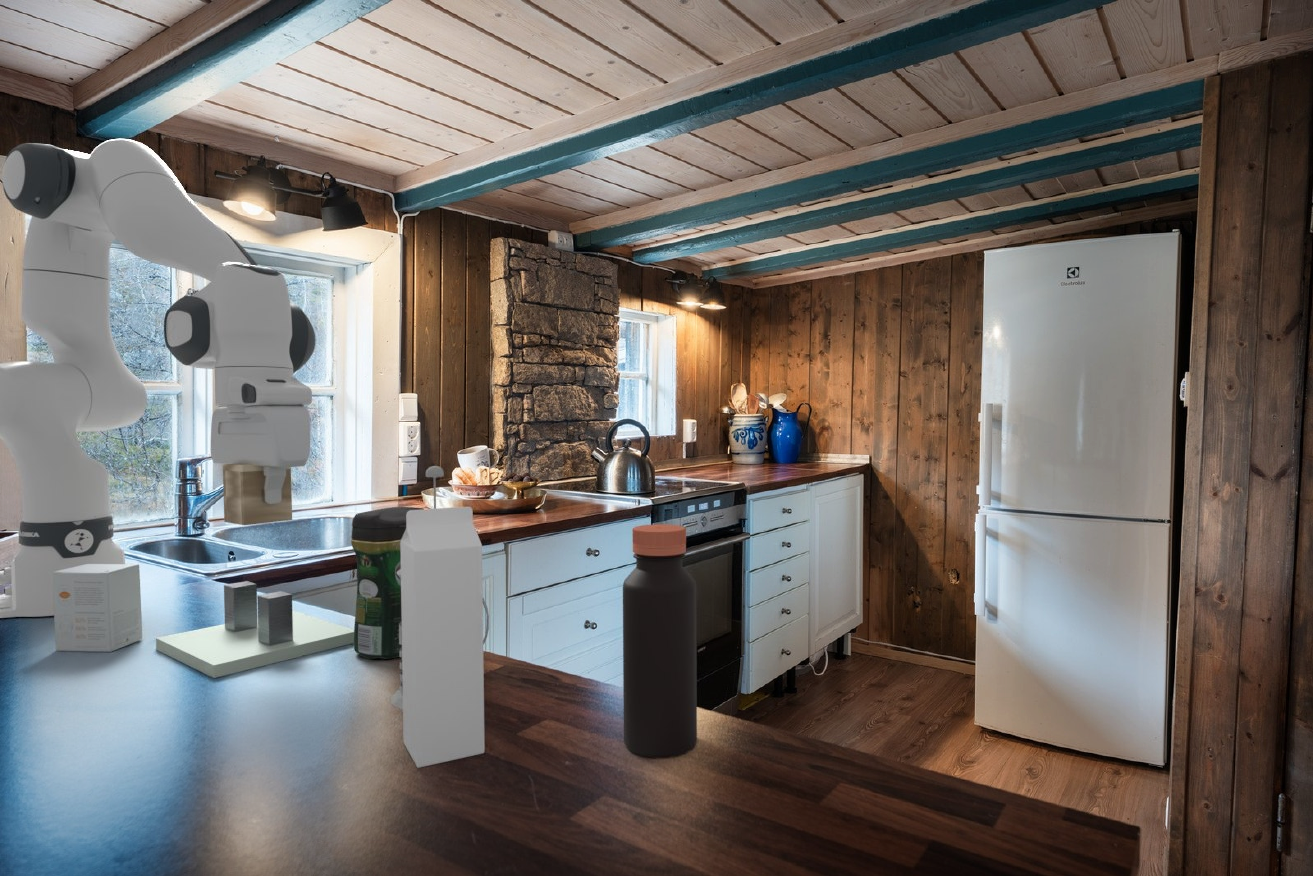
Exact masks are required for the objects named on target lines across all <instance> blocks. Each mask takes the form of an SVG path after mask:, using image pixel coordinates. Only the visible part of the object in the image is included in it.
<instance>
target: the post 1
mask: <svg viewBox="0 0 1313 876" xmlns="http://www.w3.org/2000/svg"><path fill="white" fill-rule="evenodd" d="M257 595H258V591H257V583H254V582H251V581H248V580H246V581H241V582H234V583H228V584H223V598H224V599H223V605H224V608H223V611H224V624H225V629H227V630H230V631H232V632H239V631H244V630H248V629H253V628H258V625H257V617H258V599H257Z"/></svg>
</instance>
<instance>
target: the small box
mask: <svg viewBox="0 0 1313 876" xmlns="http://www.w3.org/2000/svg"><path fill="white" fill-rule="evenodd" d="M52 575H53V599H54V615H53V617H54V619H53V620H54V637H55V638H54V639H55V640H54V642H55V650H56V651H57V652H98V653H102V652H105V653H106V652H108V653H109V652H110V653H111V652H114V651H116V650H119V649H121V648H123V647H126V646H129V645H131V644H135V643H136V642H138V641H142V640H143V623H142V622H143V619H142V618H143V617H142V597H141V578H140V577H141V576H140V575H141V574H140V564H137V563H134V564H132V563H131V564H130V563H129V564H128V563H127V564H126V563H125V564H85V565H80V566H76V567H72V568H68V569H63V570H59V571H55V572H53V573H52Z"/></svg>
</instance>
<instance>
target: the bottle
mask: <svg viewBox="0 0 1313 876" xmlns="http://www.w3.org/2000/svg"><path fill="white" fill-rule="evenodd" d="M686 551H687V528H685V526H683V525H682V526H681V525H677V524H675V525H674V524H661V523H656V524H655V523H654V524H644V525H643V524H642V525H637V526H635V527H633V528H632V552H633V553H634V554H633V558H634V559H635V562H636V565H635V566H636V567H635V568H633V570H632V571H631V572H630V573H629V574H628V575H627V576H626V578H625V579H624V581H623V584H622V643H623V644H622V654H623V655H622V663H623V664H622V666H623V669H622V671H623V673H622V674H623V675H622V677H623V681H622V683H623V684H622V685H623V687H622V688H623V694H622V695H623V696H622V697H623V742H624V744H625V745H624V746H626V749H628V750H629V751H631V752H632V753H634V754H635V755H639V756H641V757H647V758H654V759H657V758H658V759H663V758H665V759H667V758H668V759H669V758H674V757H675V758H676V757H678V756H682V755H684V754H686V753H688V752H690V751H692V749H694V747H695V746H696V744H697V743H698V742H697V741H698V733H697V732H698V718H697V717H698V714H697V710H698V709H697V706H698V705H697V704H698V703H697V702H698V699H697V698H698V697H697V696H698V695H697V691H698V690H697V688H698V686H697V685H698V683H697V681H698V679H697V678H698V677H697V666H698V665H697V663H698V662H697V661H698V660H697V659H698V658H697V657H698V656H697V584H696V580H695V578H693V577H692V575H691V574H690V573H689V572H688V571H687V570H686V569H685V568H684V567H683V559H684V558H686Z"/></svg>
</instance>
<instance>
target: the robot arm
mask: <svg viewBox="0 0 1313 876" xmlns="http://www.w3.org/2000/svg"><path fill="white" fill-rule="evenodd" d="M1 174H2V175H1V179H2V187H3V192H4V195H5V197H6V199H7V200H8V201H9V203H10V204H11V206H12V207H13V208H14V209H16V210H17V211H20V212H21V213H23V214H26V215H29V216H31V219H30V222H29V225H28V229H27V234H26V237H25V242H24V250H23V255H22V256H23V258H22V274H21V275H22V278H21V279H22V281H21V282H22V283H21V313H20V314H21V318H22V320H23V323H24V325H25V326H26V327H27V328H28V329H29V330H30V331H32V332H33V333H35V334H36V335H37V336H40V338H42V339H43V340H44V341H45V342H46V344H47V346H48V347H49V349H50V351H51V355H52V357H53V362H45V361H44V362H43V361H42V362H41V361H29V360H28V361H27V360H26V361H25V360H19V361H8V362H1V363H0V440H1V442H2V443H3V444H4V446H5V447H6V448H7V449H8V451H9V453H10V454H11V456H12V458H13V461H14V463H15V465H16V468H17V471H18V476H19V482H20V491H21V503H22V521H20V522H19V529H18V533H17V534H18V544H20V547H19V549H18V551H17V553H16V555H15V556H14V557H13V559H12V560H11V561H10V566H9V567H3V568H4V569H3V570H0V586H5V587H4V588H3V594H0V619H4V618H16V617H19V618H21V617H25V618H26V617H28V618H29V617H34V618H35V617H50V616H51V617H53V616H54V599H53V575H52V573H53V572H55V571H59V570H63V569H68V568H72V567H76V566H80V565H85V564H126V559H125V558H126V557H125V549H124V548H123V547H121V546H120V545H117V544H116V543H115V542H114V541H113V537H114V528H115V526H114V525H115V523H114V520H113V519H114V518H113V516H112V515H111V514H110V489H109V488H110V484H109V482H110V481H109V473H108V470H107V468H106V467H105V465H104V464H103V463H101V462H100V460H98V459H95V458H93V457H90V456H89V455H88V454H87V453H86V452H85V451H84V449H83V447H82V446H81V444H80V442H79V439H78V436H77V433H83V432H84V433H85V432H89V433H90V432H107V431H111V430H117V429H121V428H124V427H128V426H132V425H134V424H135V423H137V422H138V421H140V419H141V418H142V417H143V415H144V413H145V411H146V408H147V404H148V396H147V391H146V388H145V386H144V384H143V382H142V381H141V380H140V378H139V377H138V376H136V375H135V374H134V373H133V372H132V371H131V370H130V369H129V368H128V367H127V366H126V364H125V363H124V361H123V359H122V357H121V356H120V353H119V351H118V349H117V347H116V345H115V340H114V339H113V337H114V336H113V334H112V327H111V312H110V311H111V310H110V309H111V307H110V306H111V305H110V303H111V302H110V301H111V300H110V299H111V297H110V295H111V294H110V293H111V266H110V265H111V264H110V261H111V260H110V250H111V246H112V244H113V242H114V241H115V240H117V241H118V242H119V243H120V244H121V245H122V246H123V247H124V248H125V249H127V251H129V252H130V253H131V254H132V255H134V256H137V257H139V258H140V259H143V260H145V261H147V262H151V263H153V264H157V265H161V266H164V267H167V268H171V269H172V268H173V269H175V270H179V271H183V272H185V273H189V274H192V275H195V276H197V277H200V278H203V279H205V280H208V281H209V283H208V284H206V285H205V286H204V287H203V288H201V289H200V290H198V291H197V292H195V293H193V294H192V295H184V296H182V297H181V298H179V299H178V300H176V301H175V302H174V303H173V304H172V305H171V306H169V308H168V309H167V310H166V312H165V314H164V321H163V337H164V343H165V347H166V348H167V349H168V351H169V352H170V354H171V355H172V356H173V357H174V358H175V359H176V360H177V361H178V362H179V363H180V364H182V365H184V366H186V367H187V366H189V367H192V368H197V369H204V370H205V369H208V370H213V371H214V397H215V399H214V400H215V404H214V405H216V406H217V407H216V408H215V409H214V410H213V412H212V416H211V424H210V456H211V459H212V462H213V463H214V464H215V465H223V464H233V463H234V464H251V465H254V466H262V467H264V476H266V479H265V486H264V489H261V495H262V502H263V503H267V504H275V503H280V502H281V488H282V486H283V483H284V480H285V477H286V467H291V468H297V467H299V468H300V467H304V466H306V465H307V462H308V460H309V457H310V455H311V453H310V452H311V416H310V412H309V409H308V408H307V407H306V406H309V405H311V404H312V402H313V392H312V391H313V390H312V389H311V388H310V386H308V385H306V384H304V383H302V382H301V381H299V380H298V379H297V378H296V377H294V374H295V373H296V372H297V371H299V370H300V369H301V368H303V367H304V366H305V365H306V364H307V363H308V361H309V360H310V358H311V357H312V355H313V354H314V351H315V349H316V334H315V333H316V332H315V329H314V327H313V325H312V322H311V321H310V319H309V317H308V316H307V314H306V313H305V312H304V311H303V309H301V307H299V306H298V305H296V303H294V302H292V301H291V300H290V299H291V298H290V292H289V288H288V285H287V282H286V278H285V276H284V274H283V273H282V272H280V271H278V270H276V269H275V268H272V267H266V266H261V265H259V264H257V262H256V261H255V260H254V258H253V257H252V256H251V255H250V253H248V251H247V250H246V249H245V248H244V246H243V245H241V244H240V243H239V242H238V241H237V240H236V239H235V238H234V237H233V236H232V235H230V233H228V232H227V231H225V230H224V229H223V228H221V227H220V226H219V225H218V224H217V223H216V222H214V221H213V220H212V219H211V218H210V217H208V216H207V215H206V214H205V212H204V211H202V210H201V209H200V207H198V206H197V204H195V202H194V201H193V200H192V199H191V198H190V196H189V195H188V194H187V192H186V190H185V189H184V187H183V186H182V184H181V183H180V181H179V180H178V178H177V177H176V176H175V174H174V173H173V170H171V169H170V168H169V166H168V165H167V163H165V162H164V160H162V159H161V158H160V156H159V155H158V154H157V153H155V152H154V150H152V149H151V148H149V147H148V146H147V145H145V144H143V143H142V142H139V141H135V140H133V139H126V138H115V139H109V140H106V141H104V142H101V143H100V144H99V145H98V146H96V147H95V148H94V149H93V151H91V153H90V154H88V153H84V152H80V151H74V150H70V149H69V150H68V149H64V148H60V147H58V146H55V145H52V144H45V143H37V142H36V143H35V142H34V143H33V142H32V143H31V142H25V143H24V142H23V143H21V144H19V145H17V146H16V147H14V148H11V150H10V151H9V152H8V153H7V156H6V158H5V161H4V164H3V167H2V173H1ZM6 585H9V586H6Z"/></svg>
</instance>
